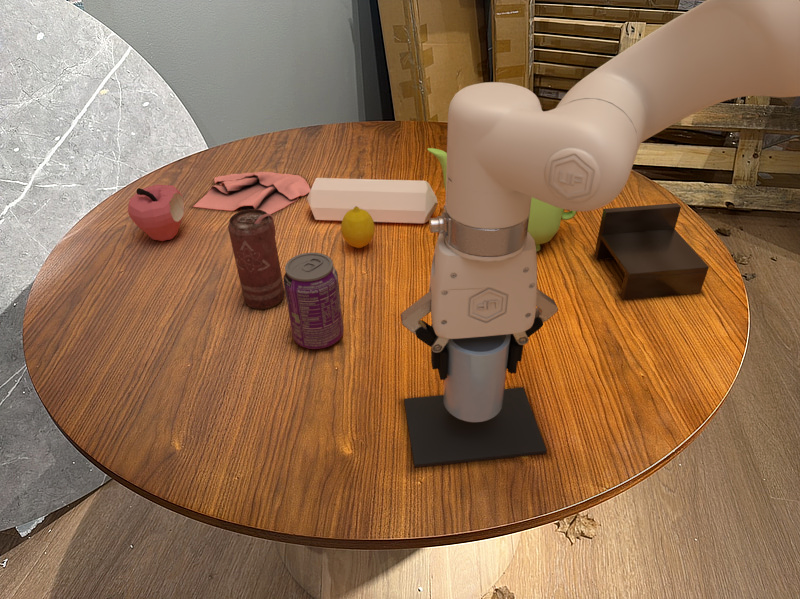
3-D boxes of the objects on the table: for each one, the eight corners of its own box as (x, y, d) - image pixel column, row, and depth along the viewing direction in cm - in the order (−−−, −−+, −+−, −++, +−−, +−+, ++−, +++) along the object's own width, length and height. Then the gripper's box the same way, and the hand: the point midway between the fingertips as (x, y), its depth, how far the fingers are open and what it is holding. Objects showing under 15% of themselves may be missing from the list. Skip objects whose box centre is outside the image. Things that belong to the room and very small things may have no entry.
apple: (173, 253, 105) (158, 200, 99) (128, 247, 106) (110, 196, 100) (200, 224, 112) (187, 174, 106) (157, 220, 114) (142, 170, 108)
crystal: (439, 183, 114) (312, 179, 117) (437, 180, 107) (302, 177, 110) (437, 223, 115) (312, 219, 118) (436, 223, 108) (302, 219, 111)
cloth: (327, 192, 121) (325, 181, 119) (228, 233, 109) (225, 221, 108) (270, 160, 133) (268, 150, 132) (176, 194, 122) (173, 183, 120)
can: (293, 300, 93) (280, 219, 85) (254, 315, 91) (236, 234, 82) (276, 281, 97) (262, 202, 89) (238, 295, 95) (220, 215, 86)
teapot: (566, 199, 116) (579, 117, 107) (575, 263, 99) (591, 172, 90) (435, 193, 120) (435, 113, 110) (421, 253, 103) (421, 165, 93)
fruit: (344, 258, 102) (340, 216, 97) (341, 241, 106) (337, 199, 102) (377, 255, 103) (375, 213, 98) (373, 238, 107) (371, 196, 102)
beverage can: (316, 314, 91) (307, 244, 83) (354, 331, 87) (347, 260, 80) (282, 340, 86) (269, 269, 79) (321, 360, 83) (311, 288, 75)
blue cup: (495, 376, 73) (502, 309, 67) (509, 419, 68) (518, 351, 62) (438, 381, 73) (440, 315, 67) (448, 425, 67) (451, 357, 61)
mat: (522, 390, 77) (523, 386, 77) (546, 454, 69) (547, 450, 69) (404, 401, 76) (404, 398, 76) (414, 468, 68) (414, 464, 68)
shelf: (664, 250, 102) (677, 202, 96) (700, 293, 92) (717, 243, 87) (593, 256, 101) (603, 208, 96) (622, 300, 91) (635, 250, 86)
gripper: (395, 256, 53) (399, 400, 63) (592, 240, 54) (563, 385, 65) (387, 212, 59) (392, 351, 69) (565, 199, 60) (543, 338, 71)
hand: (475, 366), depth 67 cm, fingers closed on blue cup, 6 cm apart
